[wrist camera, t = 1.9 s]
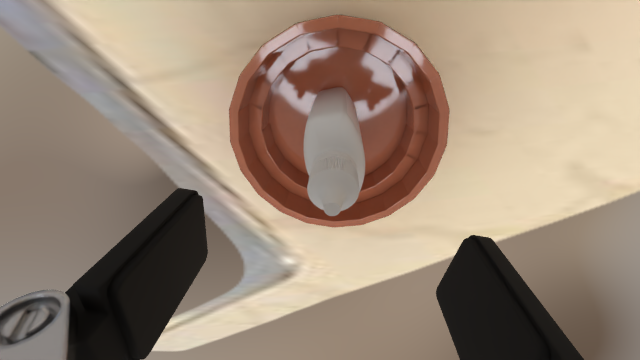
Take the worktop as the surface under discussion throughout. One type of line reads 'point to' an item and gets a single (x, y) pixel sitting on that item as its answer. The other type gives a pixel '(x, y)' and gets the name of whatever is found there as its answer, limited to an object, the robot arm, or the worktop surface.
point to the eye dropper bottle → (333, 152)
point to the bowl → (370, 104)
